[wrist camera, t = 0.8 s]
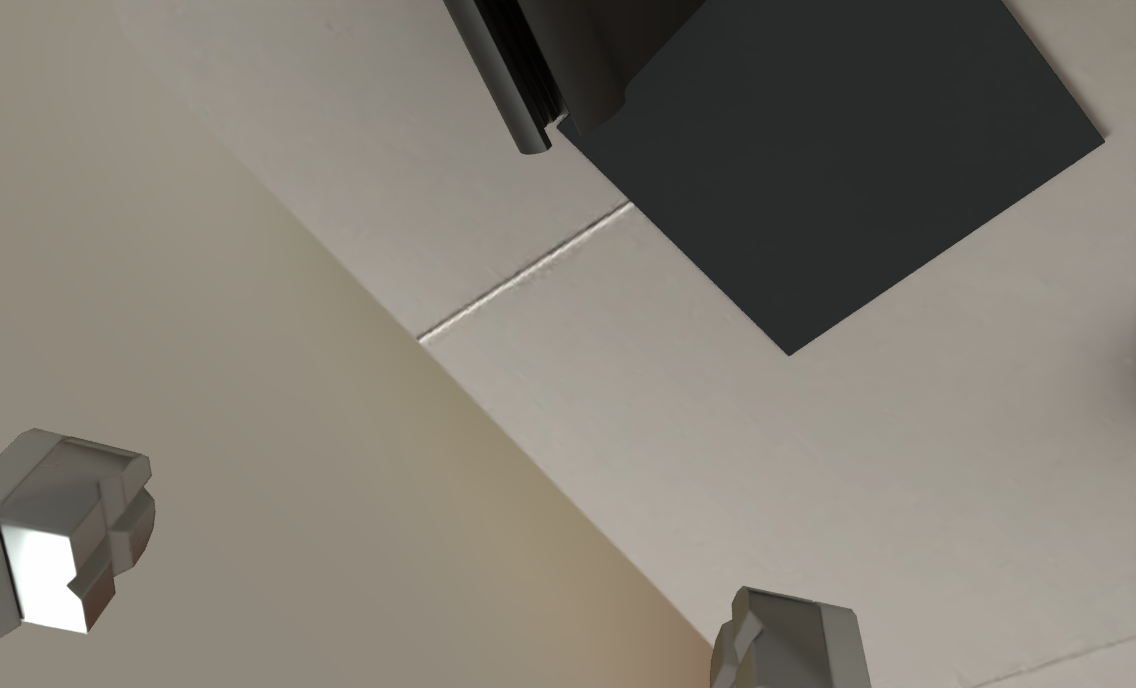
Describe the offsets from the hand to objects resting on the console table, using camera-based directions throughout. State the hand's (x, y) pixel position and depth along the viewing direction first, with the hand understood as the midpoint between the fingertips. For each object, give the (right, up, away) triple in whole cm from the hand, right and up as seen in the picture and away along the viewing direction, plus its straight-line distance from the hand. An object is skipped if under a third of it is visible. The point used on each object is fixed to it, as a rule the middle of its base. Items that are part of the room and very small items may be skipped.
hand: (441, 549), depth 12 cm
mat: (+11, +11, +21) cm, 26 cm away
